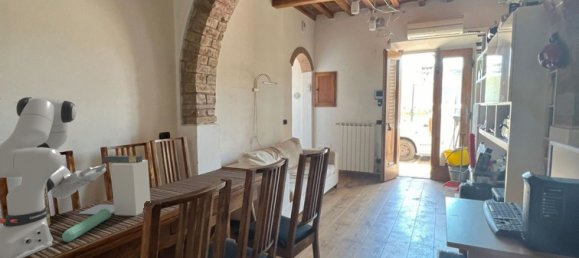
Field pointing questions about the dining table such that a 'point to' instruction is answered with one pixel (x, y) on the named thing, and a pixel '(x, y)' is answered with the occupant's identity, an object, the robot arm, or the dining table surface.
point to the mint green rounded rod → (86, 225)
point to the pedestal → (130, 187)
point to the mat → (97, 209)
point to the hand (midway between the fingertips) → (98, 166)
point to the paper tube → (47, 204)
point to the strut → (122, 159)
